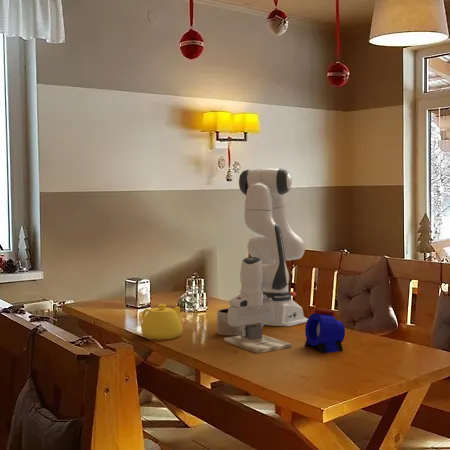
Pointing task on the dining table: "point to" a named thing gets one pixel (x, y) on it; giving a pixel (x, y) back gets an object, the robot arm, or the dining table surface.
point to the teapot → (161, 323)
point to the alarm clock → (324, 331)
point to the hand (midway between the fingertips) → (251, 335)
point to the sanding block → (252, 333)
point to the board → (258, 344)
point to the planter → (226, 324)
